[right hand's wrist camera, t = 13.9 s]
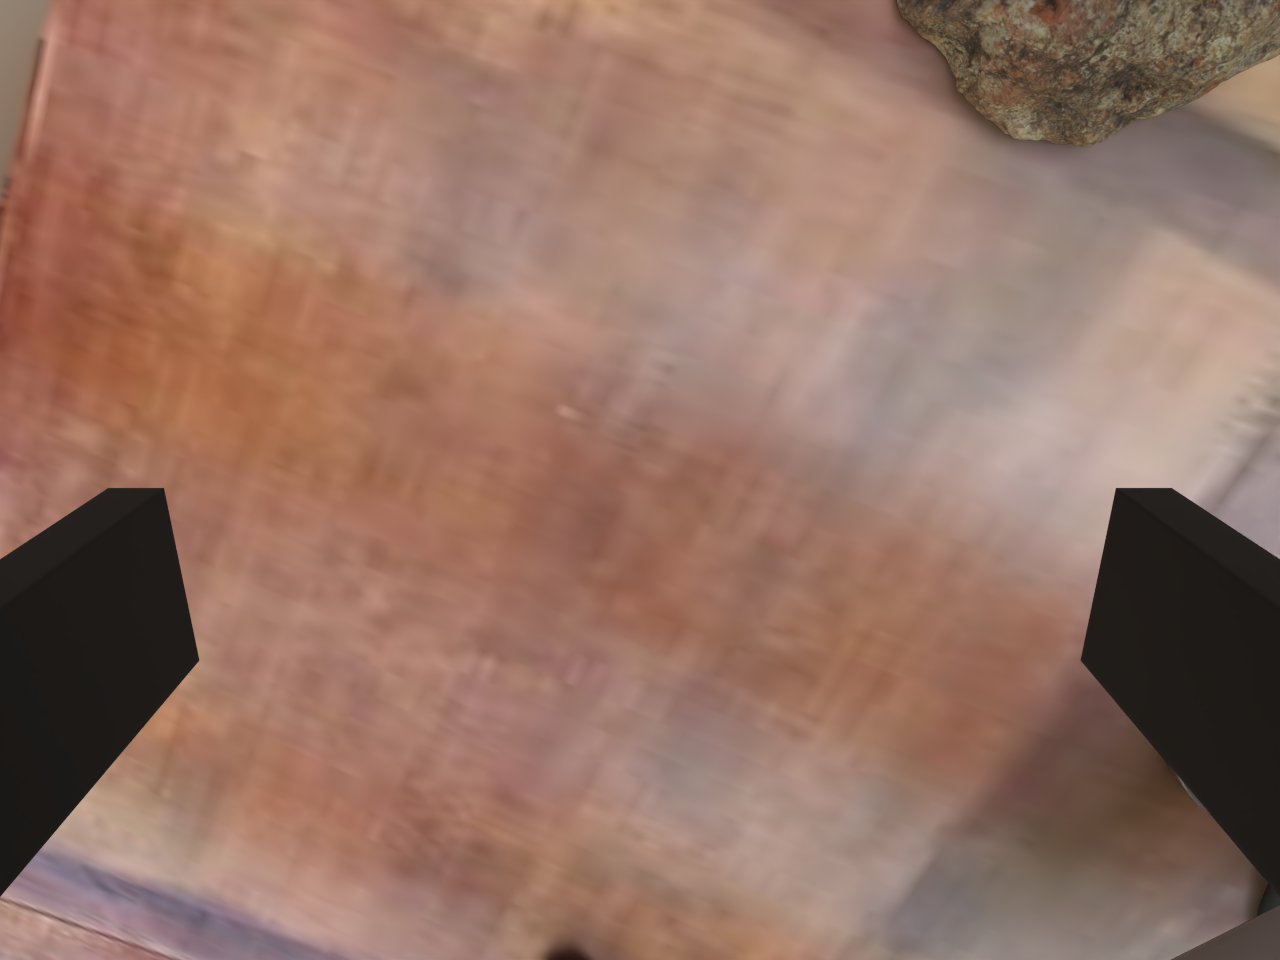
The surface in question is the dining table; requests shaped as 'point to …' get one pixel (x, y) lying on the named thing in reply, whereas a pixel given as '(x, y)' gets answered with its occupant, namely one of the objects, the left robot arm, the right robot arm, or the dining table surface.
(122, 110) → the dining table surface
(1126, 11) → the rock
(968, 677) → the dining table surface
